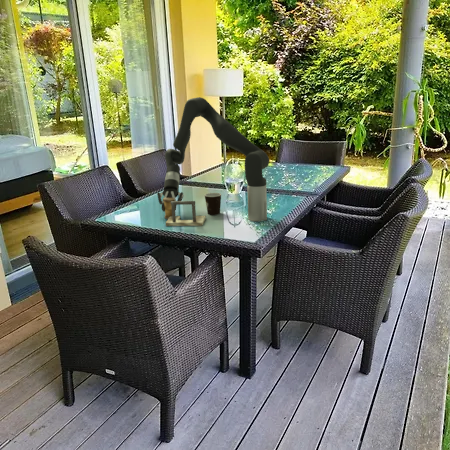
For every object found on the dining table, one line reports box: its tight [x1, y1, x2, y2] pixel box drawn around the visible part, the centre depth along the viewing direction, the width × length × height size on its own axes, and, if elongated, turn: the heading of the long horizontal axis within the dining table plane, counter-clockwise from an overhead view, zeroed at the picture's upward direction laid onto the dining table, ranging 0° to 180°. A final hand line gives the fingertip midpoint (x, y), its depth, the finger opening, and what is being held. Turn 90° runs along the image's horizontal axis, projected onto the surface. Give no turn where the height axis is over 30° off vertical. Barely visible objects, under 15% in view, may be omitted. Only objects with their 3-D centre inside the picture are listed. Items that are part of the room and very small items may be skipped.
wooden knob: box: [162, 197, 174, 220], centre depth 225 cm, size 6×6×10 cm
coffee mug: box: [204, 192, 222, 216], centre depth 227 cm, size 12×9×10 cm
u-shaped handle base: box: [165, 200, 207, 227], centre depth 216 cm, size 18×11×12 cm, turn 84°
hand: (168, 210), depth 224 cm, fingers closed on wooden knob, 4 cm apart
